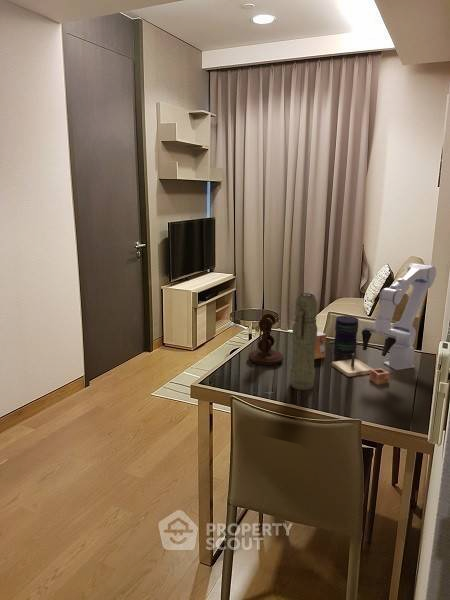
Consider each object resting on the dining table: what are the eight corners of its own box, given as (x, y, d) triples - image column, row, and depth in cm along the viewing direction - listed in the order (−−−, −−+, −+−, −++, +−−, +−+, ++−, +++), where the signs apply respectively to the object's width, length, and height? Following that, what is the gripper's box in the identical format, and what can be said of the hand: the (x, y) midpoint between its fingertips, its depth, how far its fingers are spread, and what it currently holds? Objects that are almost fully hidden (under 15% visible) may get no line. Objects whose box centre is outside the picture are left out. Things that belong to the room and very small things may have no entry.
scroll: (252, 353, 207) (253, 309, 202) (285, 356, 203) (287, 312, 198) (244, 365, 193) (245, 319, 188) (279, 369, 189) (281, 322, 184)
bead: (379, 377, 183) (380, 367, 182) (388, 382, 178) (389, 372, 177) (369, 379, 181) (370, 369, 180) (377, 384, 177) (378, 374, 176)
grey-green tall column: (285, 389, 172) (290, 297, 163) (294, 377, 182) (298, 290, 173) (309, 393, 168) (315, 300, 160) (317, 381, 179) (322, 292, 170)
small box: (310, 360, 199) (311, 337, 197) (302, 356, 204) (303, 333, 201) (325, 357, 203) (326, 334, 200) (317, 353, 208) (318, 330, 205)
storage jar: (358, 354, 206) (361, 322, 202) (336, 354, 206) (338, 322, 202) (352, 346, 216) (355, 315, 212) (331, 346, 216) (333, 315, 212)
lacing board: (356, 361, 198) (357, 347, 196) (373, 372, 187) (375, 357, 185) (331, 365, 194) (332, 350, 192) (348, 376, 183) (349, 361, 182)
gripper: (369, 313, 174) (358, 348, 174) (406, 324, 174) (395, 359, 174) (363, 313, 181) (353, 346, 181) (398, 324, 181) (388, 357, 181)
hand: (373, 353), depth 178 cm, fingers open, 7 cm apart
